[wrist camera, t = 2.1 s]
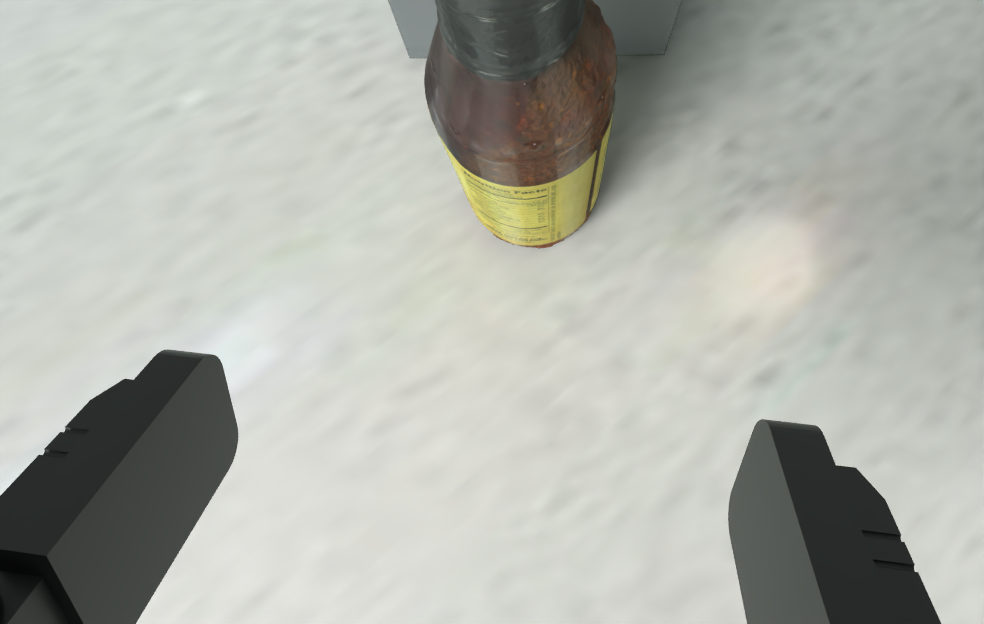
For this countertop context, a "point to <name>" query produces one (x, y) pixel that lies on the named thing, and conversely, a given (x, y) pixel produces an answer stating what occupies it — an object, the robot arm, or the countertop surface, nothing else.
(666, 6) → the gray tray
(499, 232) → the sauce bottle
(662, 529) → the countertop surface
